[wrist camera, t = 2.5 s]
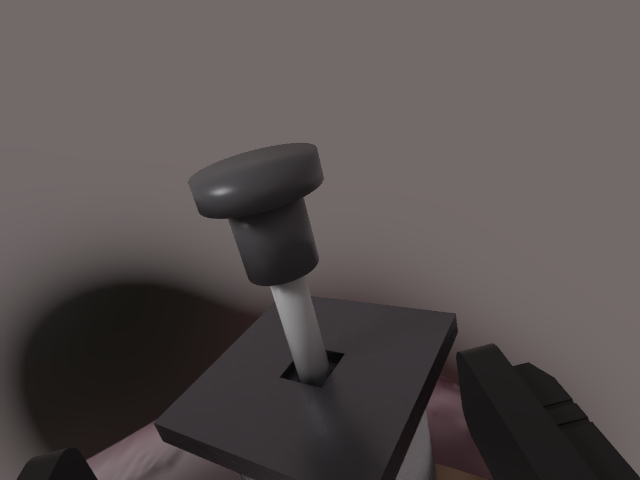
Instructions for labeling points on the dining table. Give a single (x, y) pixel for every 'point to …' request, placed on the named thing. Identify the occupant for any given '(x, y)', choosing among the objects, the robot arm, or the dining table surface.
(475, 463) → the dining table surface
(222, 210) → the plunger
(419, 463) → the press
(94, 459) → the dining table surface
